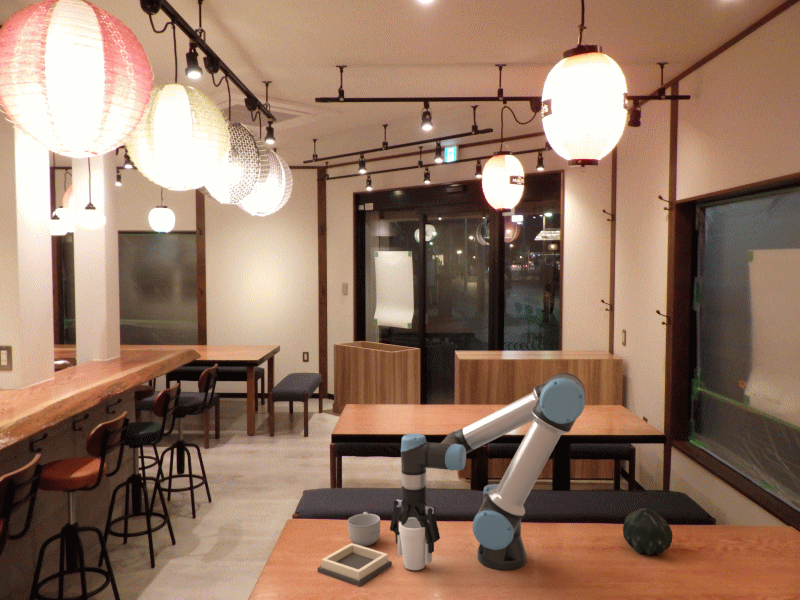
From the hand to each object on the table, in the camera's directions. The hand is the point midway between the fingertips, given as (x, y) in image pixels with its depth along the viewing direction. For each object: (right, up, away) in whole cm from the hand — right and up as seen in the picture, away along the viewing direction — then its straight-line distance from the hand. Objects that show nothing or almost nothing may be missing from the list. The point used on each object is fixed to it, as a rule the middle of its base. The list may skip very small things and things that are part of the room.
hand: (414, 558), depth 190 cm
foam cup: (0, -2, 0) cm, 2 cm away
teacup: (-16, -2, +19) cm, 25 cm away
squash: (+76, -3, +12) cm, 77 cm away
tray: (-18, -3, -1) cm, 18 cm away
